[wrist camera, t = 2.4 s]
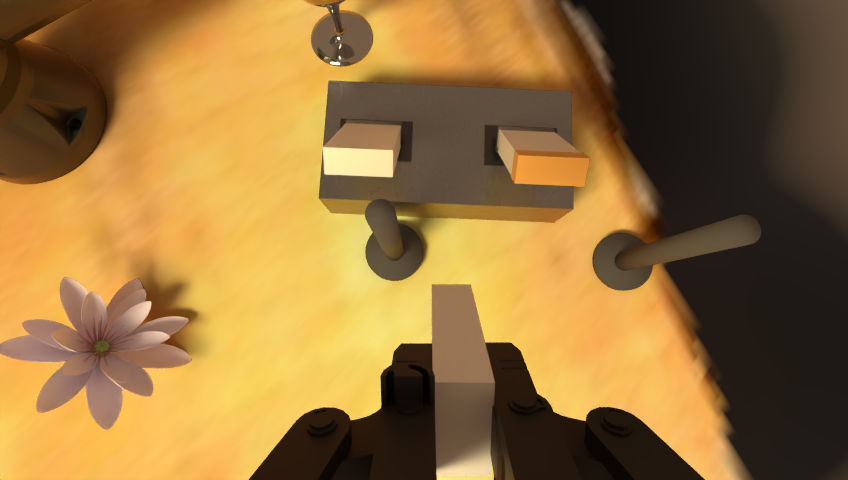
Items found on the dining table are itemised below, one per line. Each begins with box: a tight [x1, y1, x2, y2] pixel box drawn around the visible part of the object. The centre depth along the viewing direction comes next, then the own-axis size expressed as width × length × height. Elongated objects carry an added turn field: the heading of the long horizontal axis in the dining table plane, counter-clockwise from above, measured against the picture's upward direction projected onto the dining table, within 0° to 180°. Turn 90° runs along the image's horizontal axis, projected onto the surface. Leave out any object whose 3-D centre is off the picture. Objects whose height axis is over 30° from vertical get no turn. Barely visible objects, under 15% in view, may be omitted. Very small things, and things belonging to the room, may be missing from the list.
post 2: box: [593, 215, 761, 290], centre depth 38 cm, size 6×6×18 cm
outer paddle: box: [495, 126, 590, 187], centre depth 37 cm, size 2×5×11 cm
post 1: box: [365, 199, 423, 281], centre depth 37 cm, size 6×6×18 cm
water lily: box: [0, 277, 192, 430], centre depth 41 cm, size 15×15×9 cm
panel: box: [319, 81, 573, 223], centre depth 45 cm, size 12×24×6 cm, turn 88°
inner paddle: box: [323, 119, 402, 177], centre depth 37 cm, size 2×5×11 cm
